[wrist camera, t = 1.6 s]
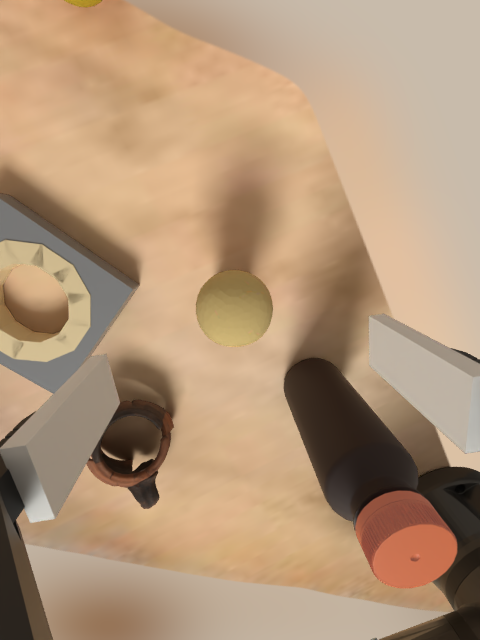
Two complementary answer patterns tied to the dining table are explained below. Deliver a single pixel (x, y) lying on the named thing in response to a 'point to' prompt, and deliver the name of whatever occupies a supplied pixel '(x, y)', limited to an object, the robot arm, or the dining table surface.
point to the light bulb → (234, 308)
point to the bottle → (368, 477)
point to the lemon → (84, 2)
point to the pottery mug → (121, 471)
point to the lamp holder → (76, 281)
